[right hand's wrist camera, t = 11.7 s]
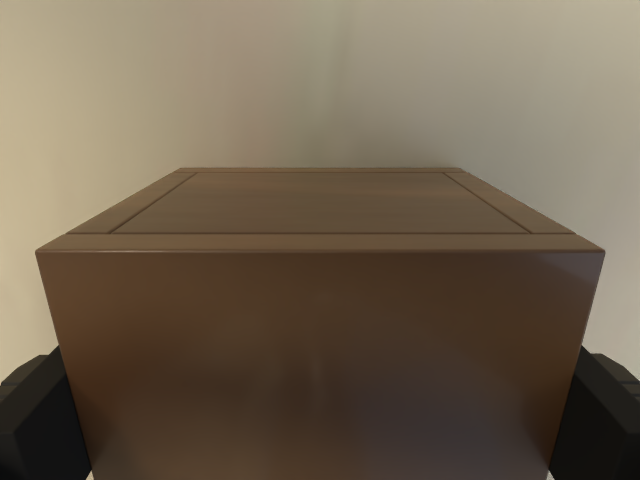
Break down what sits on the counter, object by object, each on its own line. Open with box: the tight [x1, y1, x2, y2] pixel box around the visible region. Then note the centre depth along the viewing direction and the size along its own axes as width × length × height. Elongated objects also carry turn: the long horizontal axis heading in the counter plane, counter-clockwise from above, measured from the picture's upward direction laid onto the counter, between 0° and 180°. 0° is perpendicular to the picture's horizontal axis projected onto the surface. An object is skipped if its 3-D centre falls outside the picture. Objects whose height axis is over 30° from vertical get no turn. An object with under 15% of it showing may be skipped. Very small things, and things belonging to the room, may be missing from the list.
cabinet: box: [35, 168, 605, 480], centre depth 15 cm, size 19×11×8 cm, turn 0°
